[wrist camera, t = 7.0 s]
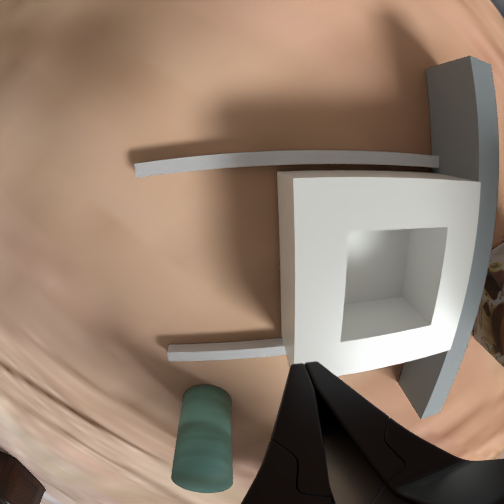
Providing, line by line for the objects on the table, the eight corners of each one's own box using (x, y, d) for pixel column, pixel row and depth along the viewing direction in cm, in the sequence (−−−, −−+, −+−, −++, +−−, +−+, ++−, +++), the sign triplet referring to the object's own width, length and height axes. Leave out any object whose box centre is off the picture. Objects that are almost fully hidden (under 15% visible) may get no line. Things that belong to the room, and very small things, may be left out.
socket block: (416, 315, 21) (450, 349, 16) (281, 334, 21) (293, 382, 16) (433, 172, 18) (480, 182, 13) (276, 171, 17) (293, 178, 12)
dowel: (233, 415, 23) (235, 492, 16) (188, 416, 23) (179, 491, 16) (228, 383, 22) (229, 467, 15) (178, 384, 22) (164, 466, 14)
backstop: (415, 378, 24) (439, 412, 19) (186, 409, 23) (180, 454, 18) (445, 74, 15) (490, 64, 11) (135, 65, 15) (104, 40, 10)
